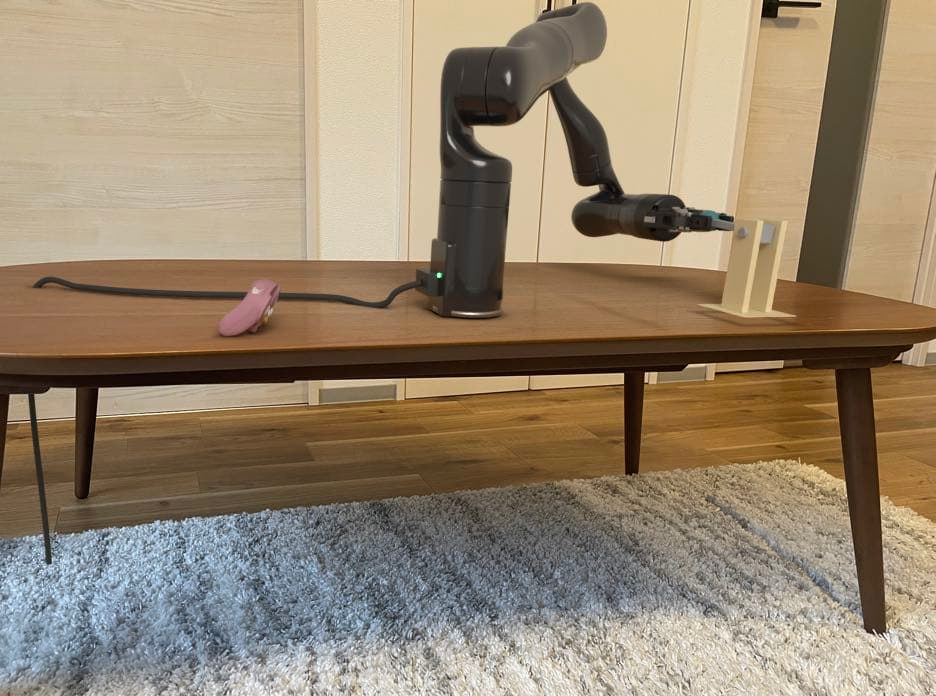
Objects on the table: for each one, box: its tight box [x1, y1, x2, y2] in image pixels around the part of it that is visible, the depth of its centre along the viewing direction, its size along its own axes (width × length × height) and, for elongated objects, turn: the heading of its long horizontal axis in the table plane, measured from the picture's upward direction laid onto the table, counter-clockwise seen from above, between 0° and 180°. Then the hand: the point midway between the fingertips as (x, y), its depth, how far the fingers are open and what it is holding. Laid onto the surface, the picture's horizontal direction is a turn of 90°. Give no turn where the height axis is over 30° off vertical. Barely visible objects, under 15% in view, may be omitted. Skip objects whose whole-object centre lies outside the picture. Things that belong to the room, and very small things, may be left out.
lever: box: [700, 209, 775, 243], centre depth 113 cm, size 14×3×3 cm, turn 17°
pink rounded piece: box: [217, 278, 282, 337], centre depth 89 cm, size 10×5×7 cm, turn 179°
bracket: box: [696, 217, 796, 318], centre depth 109 cm, size 10×9×14 cm
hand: (720, 223), depth 115 cm, fingers closed on lever, 3 cm apart
